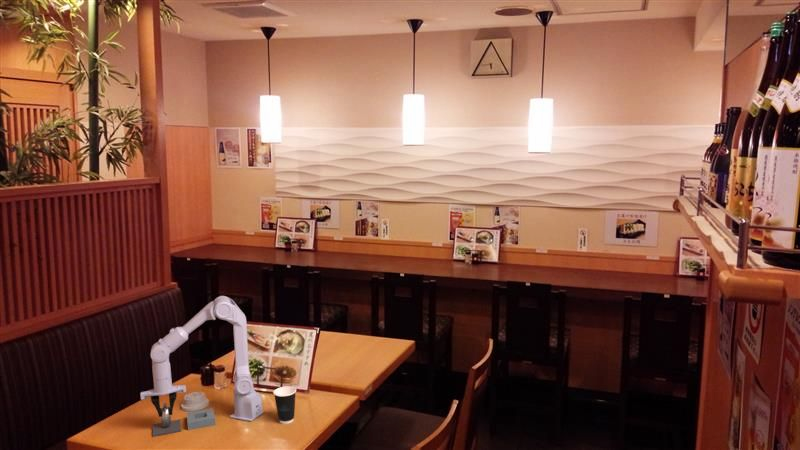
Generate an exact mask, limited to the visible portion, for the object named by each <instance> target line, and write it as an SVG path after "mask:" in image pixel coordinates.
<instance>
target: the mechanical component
mask: <svg viewBox="0 0 800 450" xmlns="http://www.w3.org/2000/svg"><path fill="white" fill-rule="evenodd" d="M209 405H210V400H209V399H208V398H207V397H206V393H205V392H203V391H194V392H193V391H192V392H190V393H187V394H185V395H184V396H183V402H182V403H181V404H180V408H181V410H182V411H185V412H194V411H199V410H204V408H205V409H206V407H208V406H209Z"/></svg>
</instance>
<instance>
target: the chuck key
mask: <svg viewBox="0 0 800 450" xmlns="http://www.w3.org/2000/svg"><path fill="white" fill-rule="evenodd" d="M160 410H161V417H160V420H161V423H162V426H164V427H165V426H169V425H171V421H172V420H171V419H172V418H171V416H172V415H170V405H169V406H168V405H167V403H166V402H164V403H162V407H160Z"/></svg>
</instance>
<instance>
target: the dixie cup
mask: <svg viewBox="0 0 800 450" xmlns="http://www.w3.org/2000/svg"><path fill="white" fill-rule="evenodd" d="M296 392H297V388H296V387H293V386H281V387H278V388H276V389H274V390H273V392H272V394H273V395H274V400H275V406H276V411H277V413H276V414H277V416H278V420H279V423H280V424H283V425H287V424H291V423H293V422H294V418H295V408H296V407H295V406H296Z"/></svg>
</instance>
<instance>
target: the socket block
mask: <svg viewBox="0 0 800 450" xmlns="http://www.w3.org/2000/svg"><path fill="white" fill-rule="evenodd" d="M214 411H215V410H214V407H211V408H205V409H204V408H203V409H200V410H197V411H187V412H186V420H187V421H186V422H187V429H188V431H190V430H196V429H201V428H205V427H210V426H215V425H216V416H215V413H214Z"/></svg>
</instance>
